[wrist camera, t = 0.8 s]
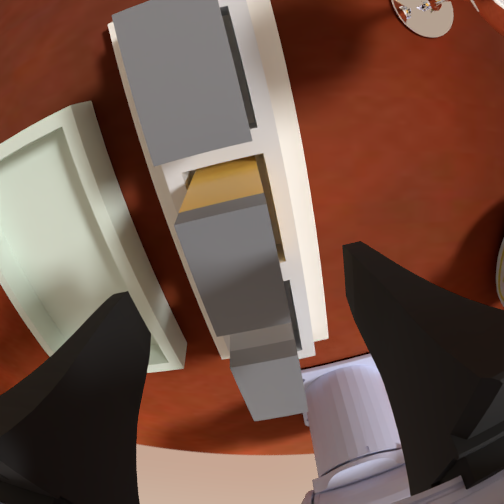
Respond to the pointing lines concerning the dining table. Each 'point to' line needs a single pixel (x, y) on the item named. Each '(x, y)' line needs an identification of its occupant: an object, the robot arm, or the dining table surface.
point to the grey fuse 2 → (268, 372)
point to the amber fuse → (232, 248)
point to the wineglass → (444, 15)
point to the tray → (74, 236)
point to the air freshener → (500, 274)
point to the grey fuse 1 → (181, 77)
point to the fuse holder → (268, 162)
